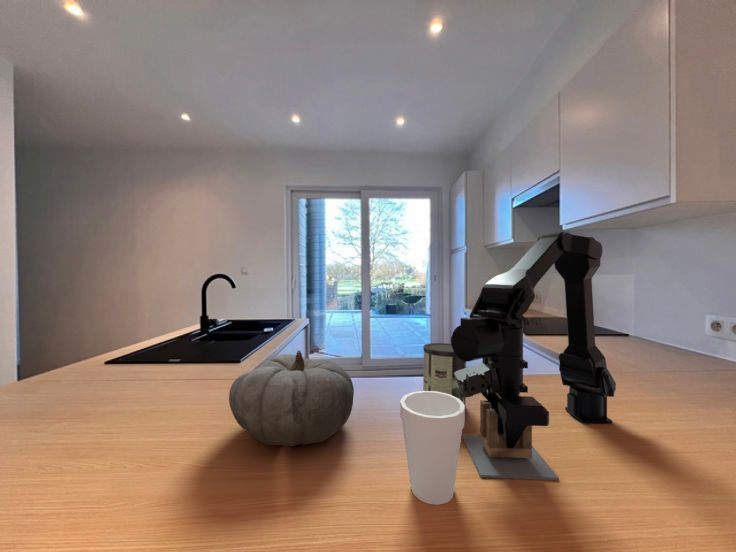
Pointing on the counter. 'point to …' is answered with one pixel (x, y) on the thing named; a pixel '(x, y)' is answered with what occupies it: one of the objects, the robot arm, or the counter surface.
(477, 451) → the mat
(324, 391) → the gourd
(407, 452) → the foam cup
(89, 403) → the counter surface
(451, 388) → the coffee can
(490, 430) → the wooden chair
